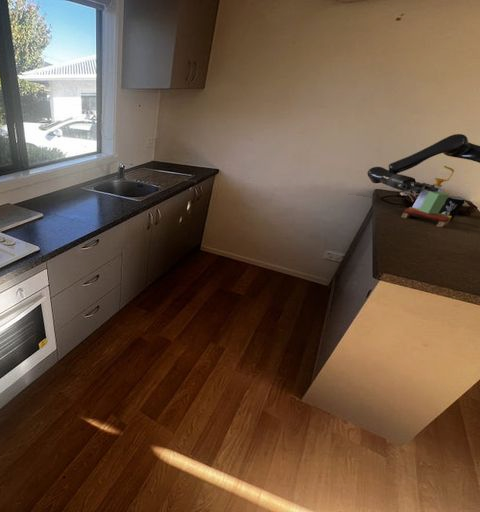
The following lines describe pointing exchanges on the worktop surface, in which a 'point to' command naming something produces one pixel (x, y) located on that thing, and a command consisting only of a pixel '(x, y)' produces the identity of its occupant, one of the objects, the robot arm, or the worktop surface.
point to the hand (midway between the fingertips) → (428, 190)
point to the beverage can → (452, 206)
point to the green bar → (433, 202)
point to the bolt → (467, 209)
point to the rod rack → (427, 216)
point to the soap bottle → (424, 193)
